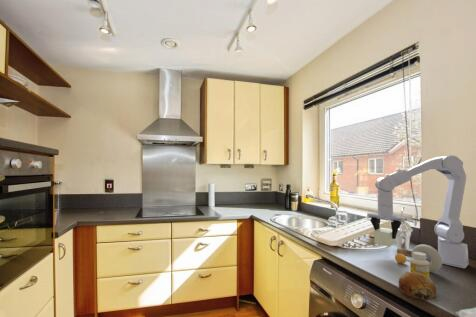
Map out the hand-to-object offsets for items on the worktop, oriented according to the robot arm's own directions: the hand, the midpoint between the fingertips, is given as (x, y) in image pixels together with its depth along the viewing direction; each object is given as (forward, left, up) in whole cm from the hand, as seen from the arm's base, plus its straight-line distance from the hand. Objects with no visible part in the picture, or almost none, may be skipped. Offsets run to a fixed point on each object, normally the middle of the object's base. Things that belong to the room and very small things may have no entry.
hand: (385, 236), depth 112 cm
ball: (-6, +1, -7) cm, 10 cm away
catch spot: (-6, -7, -9) cm, 13 cm away
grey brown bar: (-6, -13, -9) cm, 17 cm away
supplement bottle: (-16, +15, -10) cm, 24 cm away
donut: (-15, +3, -10) cm, 18 cm away
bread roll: (-18, +26, -10) cm, 33 cm away
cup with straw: (-1, -19, -10) cm, 21 cm away
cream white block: (0, 0, -2) cm, 2 cm away
